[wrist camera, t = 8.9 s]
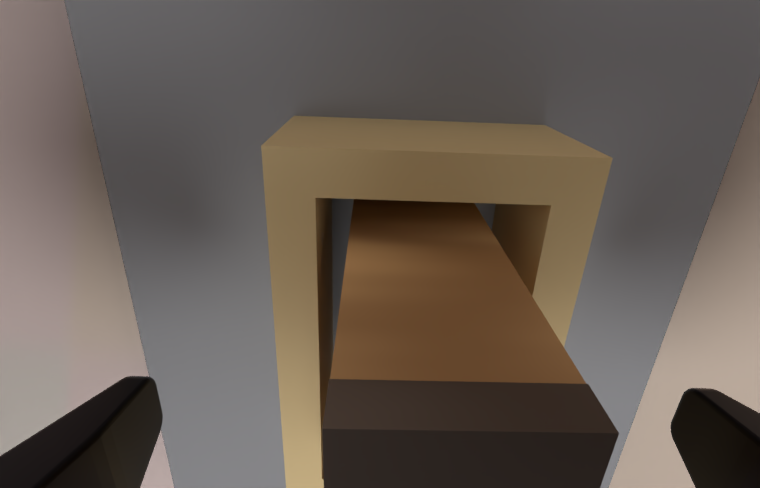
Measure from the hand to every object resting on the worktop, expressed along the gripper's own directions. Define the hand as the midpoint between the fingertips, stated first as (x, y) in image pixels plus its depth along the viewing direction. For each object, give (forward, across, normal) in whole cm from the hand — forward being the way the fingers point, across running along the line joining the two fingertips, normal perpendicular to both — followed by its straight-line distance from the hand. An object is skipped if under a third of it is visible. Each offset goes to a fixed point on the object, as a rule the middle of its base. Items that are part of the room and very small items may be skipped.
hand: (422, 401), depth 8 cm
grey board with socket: (+5, 0, 0) cm, 5 cm away
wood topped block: (+4, 0, 0) cm, 4 cm away
